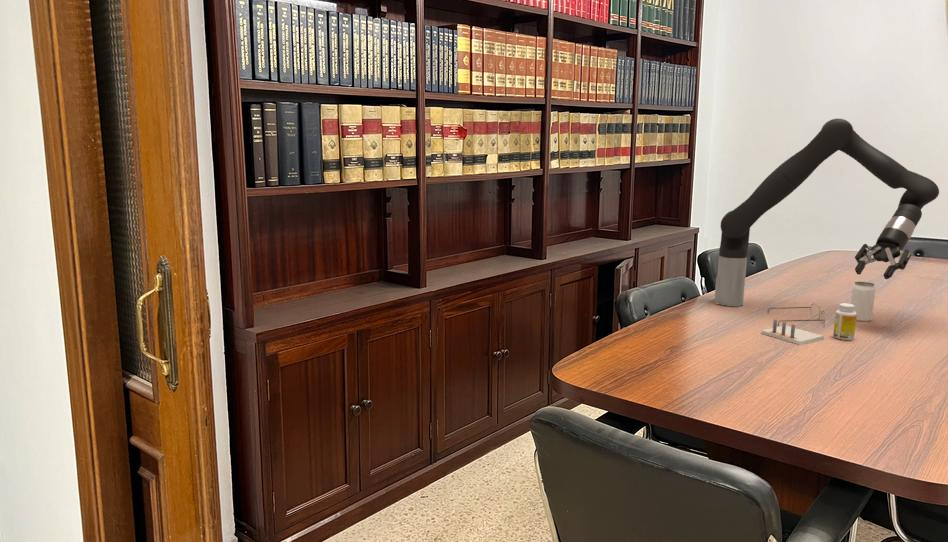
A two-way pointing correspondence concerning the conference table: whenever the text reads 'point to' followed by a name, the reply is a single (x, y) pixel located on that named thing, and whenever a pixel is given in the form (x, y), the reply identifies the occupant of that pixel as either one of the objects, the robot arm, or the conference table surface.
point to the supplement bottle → (845, 322)
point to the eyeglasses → (801, 320)
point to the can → (863, 300)
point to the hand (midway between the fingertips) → (871, 275)
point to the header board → (791, 334)
